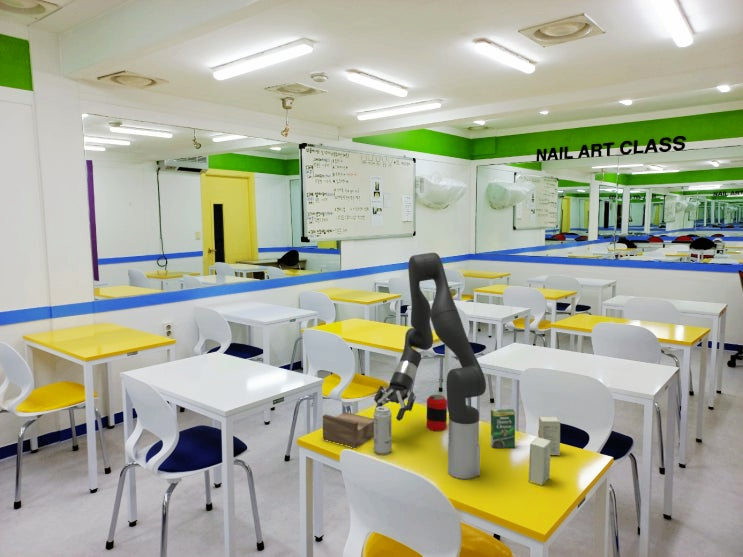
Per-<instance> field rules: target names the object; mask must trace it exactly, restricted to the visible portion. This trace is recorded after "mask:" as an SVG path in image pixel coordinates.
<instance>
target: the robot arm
mask: <svg viewBox="0 0 743 557" xmlns="http://www.w3.org/2000/svg"><path fill="white" fill-rule="evenodd" d="M442 261H443V260H442V259H441V257H440V255H439V254H438V253H436V252H427V253H421V254H415V255H411V256H410V258H409V260H408V282H409V283H408V284H409V292H410V300H411V302H410V303H411V311H410V325H411V327H410V328H408V329H407V331H406V333H405V336H404V337H405V338H404V347H403V351H402V354H401V357H400V359H399V361H398V363H397V366H396V367H395V369H394V371H393V374H392V376H391V379H390V382H389V385H388V387H387V388H386V387H383V385H380V386H379V389H378V390H377V392H376V394H375V396H374V398H373V401H374V402H375V403H376V406H375V409H374V411H375V410H376V408H377V407H380V406H384V405H386V404H388V403H390V402H391V403H395V404H399V406H400V408H399V410H398V413H396V414H397V415H396V417H395V418H396V420H397V421H399V422H400V421H401V420H403V418H404V415H405V413H406V412H407V411H409V412H411V411H413V407H414V404H415V401H416V397H417V396H416V395H415V393H414V392H413V391H411V392H410V390H411V388H412V385H413V383H414V381H415V378H416V375H417V371H418V368H419V366H420V362H421V361H422V355H421V353H420V352H418V351H417V350H416V349H419V350H423V351H428V350H430V349H431V348H432V347H433V344H434V334H433V331H432V328H433V330H434V333H435V334H436V336H437V338H438V339H439V340H440V341H441V343H443V344H444V345H445V346H446V347H447V348H448V349H449V350H450V351H451V352H452V353H453V354H454V355H455V356H456V358H457V360H458V362H459V364H460V366H461V367H457V368H452V369H450V370H449V372H447V375H446V381H445V382H446V383H445V384H446V385H445V386H446V387H445V388H446V400H447V411H448V412H447V413H448V437H447V438H448V441H447V442H448V443H447V447H448V449H447V473H448V474H449V475H450V476H452V477H453V478H457V479H460V480H461V479H464V480H470V479H474V478H475V477H480V475H481V474H480V472H481V446H480V444H479V438H480V436H479V434H480V433H479V432H480V431H479V430H480V429H479V428H480V411H479V410H478V409H477V408H476V407H474V406H471V405H468V404H467V403H466V402H467V401H466V400H467V399H469V398H475V397H480V396H482V395H484V394H485V392H486V389H487V380H486V377H485V374H484V372H483V369H482V367H481V365H480V362H479V361H478V359H477V356H476V354H475V353H474V350H473V348H472V346H471V344H470V341H469V338H468V336H467V334H466V331H465V327H464V324H463V320H462V319H461V316H460V313H459V310H458V308H457V306H456V303H455V301H454V298H453V295H452V292H451V290H450V287H449V286H450V285H449V283H448V278H447V275H446V272H445V268H444V265H443V262H442ZM432 280H433V282H434V284H435V295H434V299H433V301H432V305H431V304H430V302H429V300H428V299H427V297H426V296H425V295H424V293H423V292H422V289H421V287H420V284H421V282H424V281H432ZM431 324H432V326H433V327H431ZM407 398H408V399H407ZM406 399H407V402H405V400H406Z"/></svg>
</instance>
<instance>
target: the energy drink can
mask: <svg viewBox="0 0 743 557" xmlns="http://www.w3.org/2000/svg"><path fill="white" fill-rule="evenodd" d="M375 408H376V407H375ZM392 415H393V414H392V412H391V408H390V407H388V406H384V405H383V406H380V407H377V408H376V410H375V409H374V412H373V419H374V437H373V451H374V452H375V453H376V454H377V455H382V456H383V455H388V454H389V453H390V452H391V450H392Z"/></svg>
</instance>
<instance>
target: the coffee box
mask: <svg viewBox="0 0 743 557" xmlns="http://www.w3.org/2000/svg"><path fill="white" fill-rule="evenodd" d="M515 445H516V412H515V410H514V409H513V408H511V409H510V408H507V409H491V410H490V446H491V447H492V449H502V448H503V449H507V448H508V449H512V448H513V449H514V448H515V447H516V446H515Z"/></svg>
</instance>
